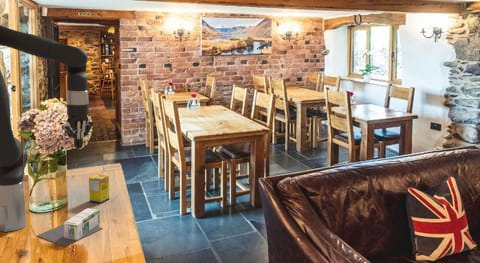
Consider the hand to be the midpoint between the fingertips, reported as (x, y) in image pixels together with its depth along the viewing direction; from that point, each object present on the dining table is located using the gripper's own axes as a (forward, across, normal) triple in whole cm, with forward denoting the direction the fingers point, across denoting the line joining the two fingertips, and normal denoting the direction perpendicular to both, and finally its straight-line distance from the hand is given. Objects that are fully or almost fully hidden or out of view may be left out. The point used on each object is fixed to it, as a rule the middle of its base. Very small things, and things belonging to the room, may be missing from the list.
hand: (78, 147), depth 159 cm
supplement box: (+28, -17, -8) cm, 34 cm away
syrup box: (+25, 0, +8) cm, 26 cm away
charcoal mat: (+28, +10, +7) cm, 31 cm away
